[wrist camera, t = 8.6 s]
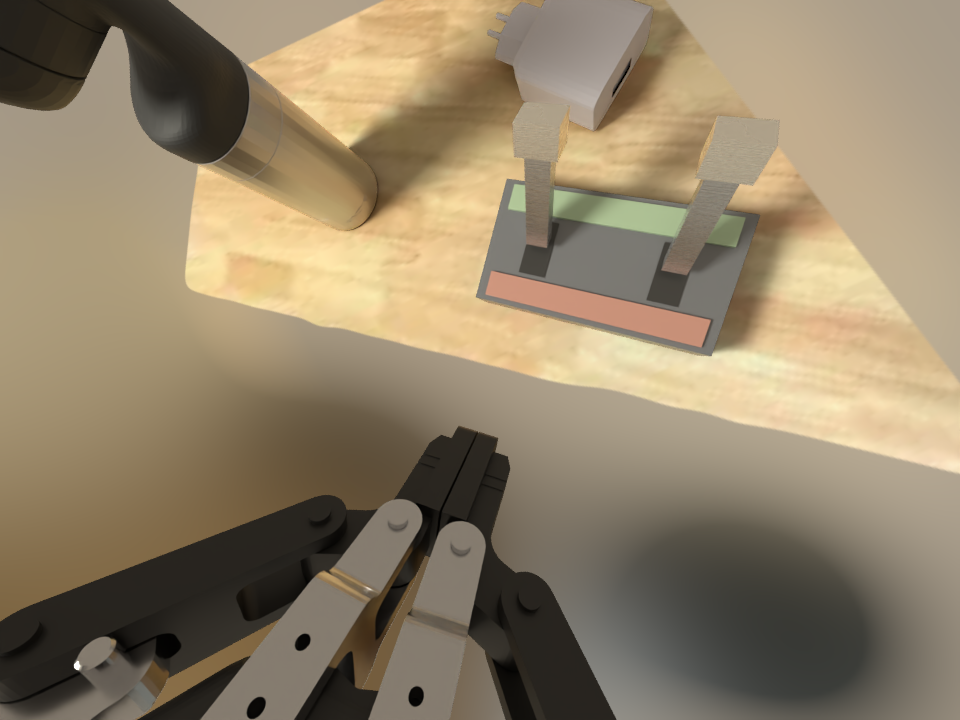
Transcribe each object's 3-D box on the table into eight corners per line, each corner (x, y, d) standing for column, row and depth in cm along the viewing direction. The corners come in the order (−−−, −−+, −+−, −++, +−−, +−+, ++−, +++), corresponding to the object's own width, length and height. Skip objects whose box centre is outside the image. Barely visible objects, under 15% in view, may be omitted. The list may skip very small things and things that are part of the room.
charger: (520, 0, 38) (647, 45, 34) (477, 84, 40) (593, 135, 36) (510, -47, 33) (655, -1, 30) (462, 50, 35) (594, 105, 32)
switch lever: (693, 281, 29) (777, 146, 19) (652, 273, 30) (712, 139, 20) (697, 260, 30) (779, 120, 20) (657, 252, 31) (717, 115, 21)
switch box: (697, 355, 34) (712, 356, 30) (486, 302, 40) (475, 296, 36) (740, 230, 32) (762, 213, 28) (515, 195, 39) (506, 177, 34)
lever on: (551, 253, 32) (559, 126, 22) (518, 246, 33) (512, 122, 23) (559, 234, 33) (570, 105, 23) (526, 228, 34) (524, 101, 24)
